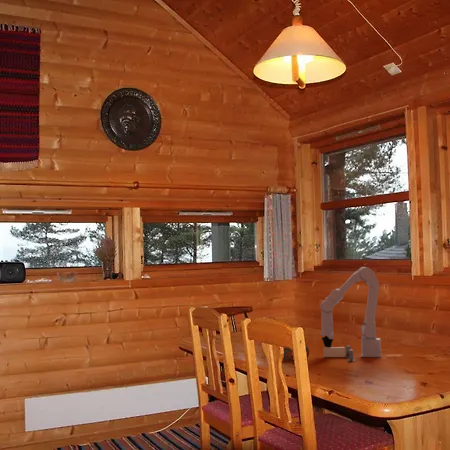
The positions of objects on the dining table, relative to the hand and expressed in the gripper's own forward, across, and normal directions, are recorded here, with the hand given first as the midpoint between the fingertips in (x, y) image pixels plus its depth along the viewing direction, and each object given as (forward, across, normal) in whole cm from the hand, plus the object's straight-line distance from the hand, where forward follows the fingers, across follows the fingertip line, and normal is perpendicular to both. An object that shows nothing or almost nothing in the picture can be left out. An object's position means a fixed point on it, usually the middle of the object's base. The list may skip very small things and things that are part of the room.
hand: (327, 351), depth 309 cm
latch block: (+2, +13, +8) cm, 15 cm away
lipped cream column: (+2, +2, +3) cm, 4 cm away
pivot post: (+2, +3, +9) cm, 10 cm away
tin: (+3, +6, -18) cm, 19 cm away
